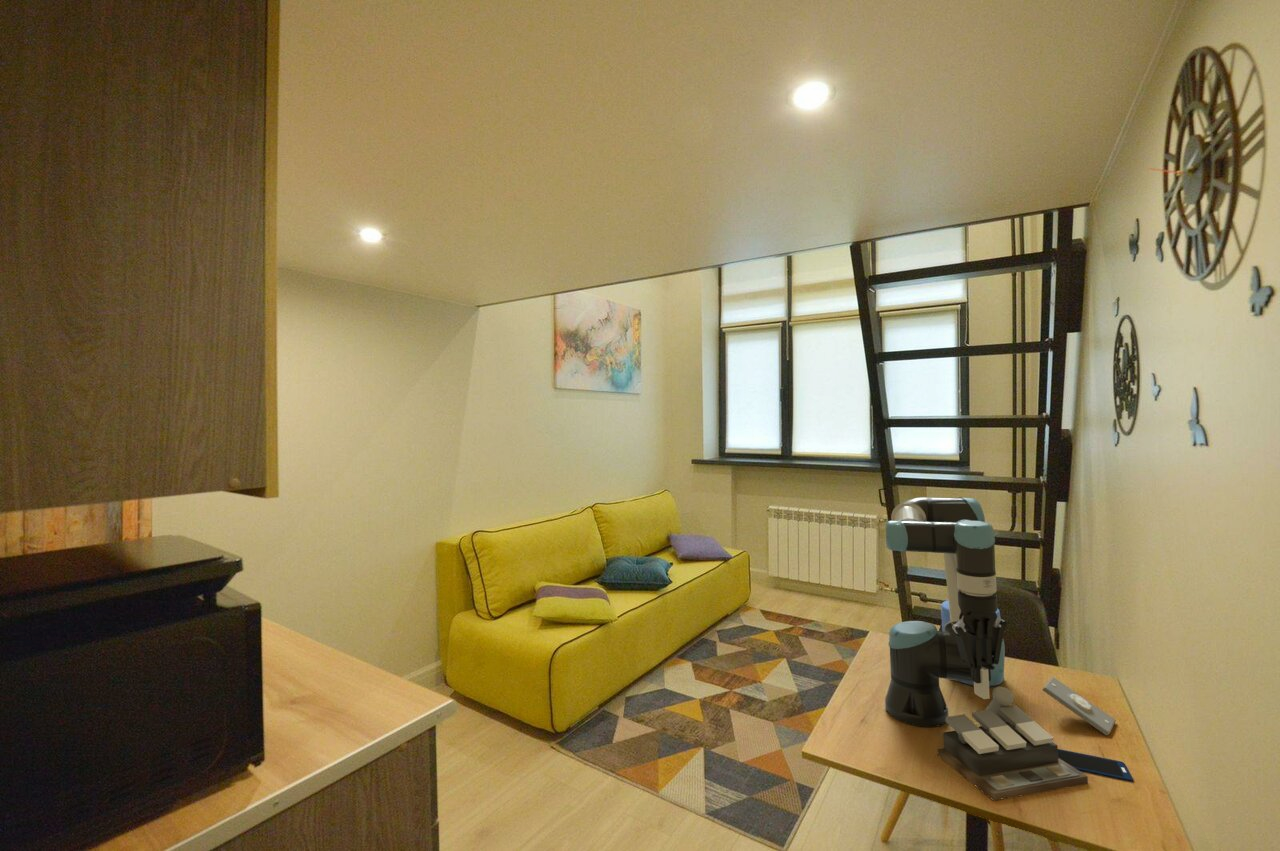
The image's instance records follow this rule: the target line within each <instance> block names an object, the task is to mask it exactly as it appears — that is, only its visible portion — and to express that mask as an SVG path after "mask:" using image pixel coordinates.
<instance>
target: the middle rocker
mask: <svg viewBox="0 0 1280 851" xmlns="http://www.w3.org/2000/svg"><path fill="white" fill-rule="evenodd" d="M971 717H972V718H973V719H974V720H975V721H976V722H977V723H978V724H979V726H982V727H983V728H984V729H985V734H986V735H988V736H989V737H990V738H991V739H994V738H995V739H996V740H997V741H998V742H999V743H1000V744H1001V745H1002V746H1003V747H1004V748H1005V749H1006V750H1011V749H1017V748H1023V747H1026V743H1027V742H1026V741H1025V740H1023V739H1022V738H1021V737H1020V736H1019V735H1018V734H1017V733H1016V732H1015V731H1014V730H1012V729H1011V728H1010V727H1009V726H1008V725H1007V724H1006V723H1005V722H1004V721H1003V720H1001V719H1000V718H999V717H998V716H997V715H996V714H995V713H994V712H993V711H992V710H990V709H989V710H986V709H983V710H976V711H972V712H971Z"/></svg>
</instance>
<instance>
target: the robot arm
mask: <svg viewBox="0 0 1280 851" xmlns="http://www.w3.org/2000/svg"><path fill="white" fill-rule="evenodd" d="M890 519H891V520H888V521H886V522H885V541H886V542H885V544H886V548H887V549H888V550H889V551H897V552H903V553H904V552H912V553H913V552H914V553H918V552H919V553H932V554H933V553H935V554H943V560H944V571H945V579H946V588H947V600H948V601H949V611H950V621H949V622H948V623H947V624H946V625H945V632H944V631H942V630H938V628H937V627H936V625H935V624H934V623H932V622H926V621H923V620H922V621H921V620H907V621H906V620H905V621H902V622H898V623H895V624H893V626H891V627H890V629H889V632H888V633H889V634H888V636H889V638H888V640H889V641H888V648H889V657H890V658H889V661H890V662H889V663H890V664H889V665H890V681H889V682H890V683H889V686H888V688H887V693H886V695H885V698H884V702H885V704H884V706H885V707H884V708H885V710H886V712H887V711H888V712H889V713H888V712H887V713H888V714H889V715H890V714H891V715H892V716H891V715H890V716H891V717H893V718H894V719H895V720H898V721H900V722H903V723H905V724H908V725H912V726H917V727H923V728H924V727H925V728H927V727H929V728H930V727H931V728H932V727H933V728H934V727H939V726H942V725H944V724H947V722H945V721H946V717H949V708H948V705H947V703H946V700H945V698H944V695H943V693H942V690H941V687H940V679H945V680H946V679H947V680H952V681H957V680H958V681H957V682H959V681H965V682H972V683H974V685H973V691H974V694H975V695H976V696H977V697H979V698H981V699H983V700H988V699H989V700H990V698H991V697H990V687H989V684H990V685H996V686H999V685H1001V684H1002V683H1003V682H1002V680H1003V674H1004V673H1005V672H1004V671H1005V657H1006V656H1005V653H1006V652H1005V651H1006V650H1005V640H1004V633H1005V630H1006V628H1007V625H1008V621H1006V620H1004V619H1002V618H1001V619H1000V618H998V617H997V614H996V611H997V609H999V608H998V595H997V594H996V592H997V588H998V587H997V573H996V551H995V550H996V549H995V543H996V537H995V533H994V532H995V531H994V527H993V525H991V523H989V522H986V521H985V520H986V517H985V513H984V510H983V507H982V505H981V503H980V502H979V501H978V499H975V498H973V497H963V496H958V497H937V496H935V497H933V496H931V497H929V496H928V497H927V496H921V497H920V496H919V497H915V498H914V497H913V498H908V499H907V500H904V501H902V502H900V503H899V504H897V505H896V506H895V507H893V509H892V512H891V518H890ZM1004 675H1005V674H1004ZM1003 681H1004V680H1003ZM1001 682H1002V683H1001ZM1000 683H1001V684H1000ZM998 684H999V685H998Z"/></svg>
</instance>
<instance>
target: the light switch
mask: <svg viewBox="0 0 1280 851" xmlns="http://www.w3.org/2000/svg"><path fill="white" fill-rule="evenodd" d="M1042 692H1044V693H1045V694H1046V695H1049V697H1051V698H1053V699H1054V700H1055V701H1057V702H1058V703H1060V704H1061V705H1062V706H1064V708H1067V709H1069V711H1071V712H1072V713H1074V715H1076V716H1078V717H1080V718H1081V719H1082V720H1083V721H1085V722H1086V723H1087V724H1090V726H1092V727H1094V728H1095V729H1097V730H1098V731H1099V732H1100V733H1102V734H1104V735H1105V736H1106V735H1108V736H1109V735H1110V733H1111V732H1112V730H1113V727H1114V725H1115V723H1116V721H1117V720H1116V719H1115V718H1114V717H1113V716H1111V715H1110V714H1108V713H1106V712H1105V711H1104V710H1102V709H1100V708H1099V707H1098V706H1096V705H1095V704H1093V703H1092V702H1090V701H1089V700H1088V699H1087V698H1085V697H1083V696H1081V695H1080V694H1079V693H1077V692H1076V691H1075V690H1073V689H1072V688H1070V687H1069V686H1067V685H1066V684H1064V683H1063V682H1062V681H1060V680H1058V679H1057V678H1055V677H1054V676H1052V677H1050V679H1049V680H1048V682H1047V683H1046V684H1045V685H1044V687H1043V688H1042Z"/></svg>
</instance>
